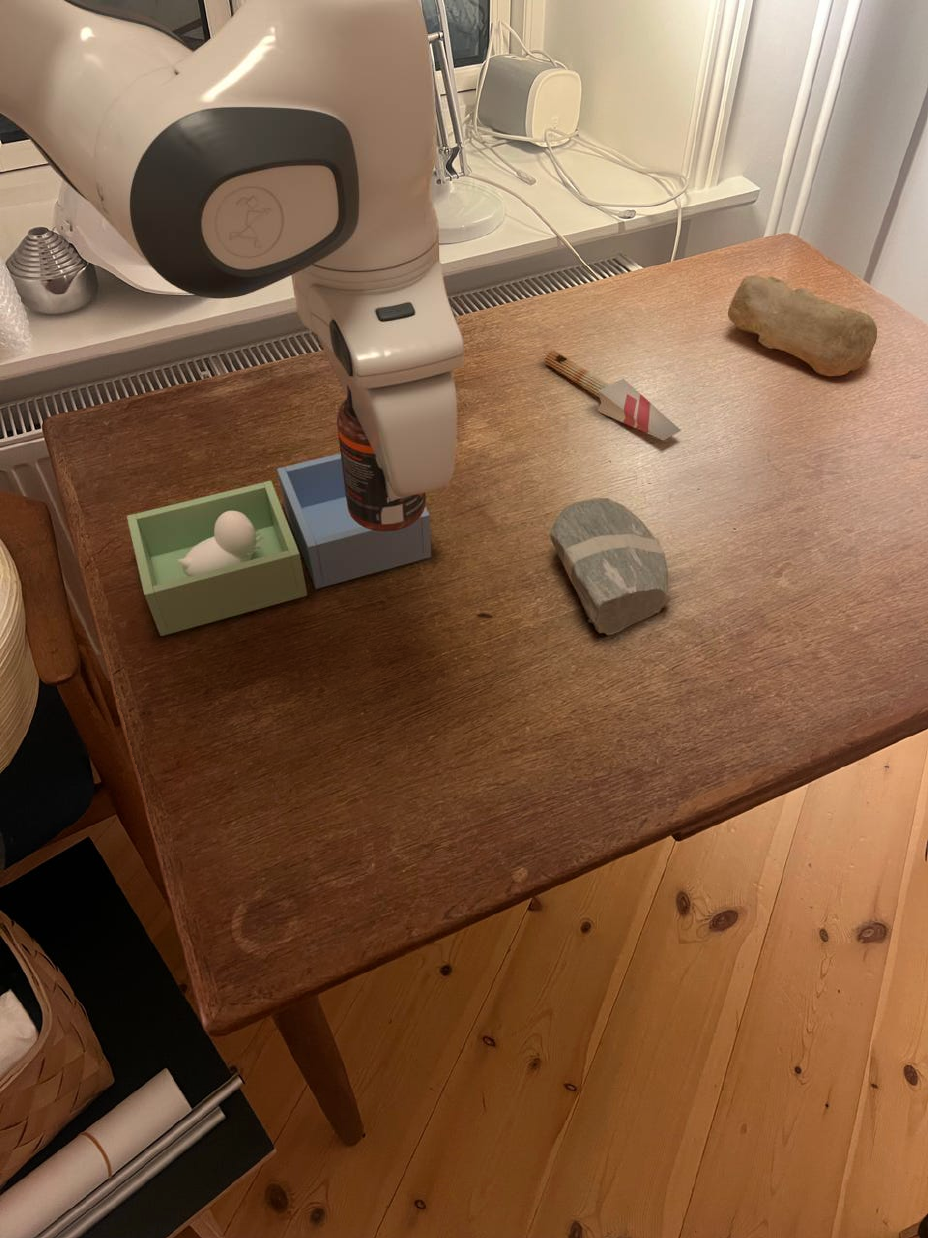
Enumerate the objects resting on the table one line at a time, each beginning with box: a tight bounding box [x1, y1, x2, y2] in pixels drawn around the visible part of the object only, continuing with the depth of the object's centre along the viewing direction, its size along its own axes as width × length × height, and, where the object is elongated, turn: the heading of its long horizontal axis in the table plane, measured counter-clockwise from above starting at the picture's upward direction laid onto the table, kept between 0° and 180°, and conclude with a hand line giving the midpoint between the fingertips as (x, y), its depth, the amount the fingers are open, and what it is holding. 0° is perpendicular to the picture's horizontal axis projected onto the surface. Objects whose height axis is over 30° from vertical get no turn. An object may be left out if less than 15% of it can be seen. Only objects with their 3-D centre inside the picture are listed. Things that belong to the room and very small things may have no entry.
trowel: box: [544, 349, 682, 441], centre depth 104 cm, size 4×3×20 cm
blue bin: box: [276, 452, 432, 590], centre depth 89 cm, size 12×12×6 cm
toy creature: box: [178, 511, 262, 577], centre depth 85 cm, size 5×8×6 cm, turn 123°
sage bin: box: [126, 480, 308, 637], centre depth 85 cm, size 14×11×6 cm
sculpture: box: [727, 275, 878, 377], centre depth 109 cm, size 9×17×10 cm
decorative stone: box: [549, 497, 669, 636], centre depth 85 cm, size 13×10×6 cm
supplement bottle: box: [336, 385, 427, 531], centre depth 65 cm, size 6×6×11 cm
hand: (382, 460), depth 66 cm, fingers closed on supplement bottle, 6 cm apart
